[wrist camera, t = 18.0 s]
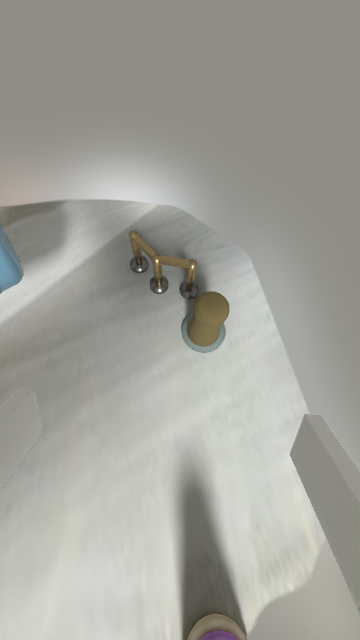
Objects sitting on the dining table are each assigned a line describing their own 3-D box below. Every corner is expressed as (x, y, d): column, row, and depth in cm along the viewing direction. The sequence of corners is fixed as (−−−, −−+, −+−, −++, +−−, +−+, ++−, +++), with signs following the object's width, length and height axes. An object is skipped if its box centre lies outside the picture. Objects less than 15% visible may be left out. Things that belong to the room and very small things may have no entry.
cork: (181, 322, 43) (184, 293, 33) (210, 311, 44) (222, 279, 34) (195, 352, 41) (203, 330, 31) (225, 338, 42) (242, 314, 32)
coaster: (178, 348, 42) (178, 347, 41) (185, 308, 45) (185, 307, 44) (222, 356, 41) (223, 355, 41) (226, 315, 44) (227, 314, 44)
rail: (123, 287, 46) (113, 259, 38) (133, 257, 49) (125, 224, 41) (196, 300, 45) (202, 274, 37) (201, 268, 48) (207, 237, 40)
